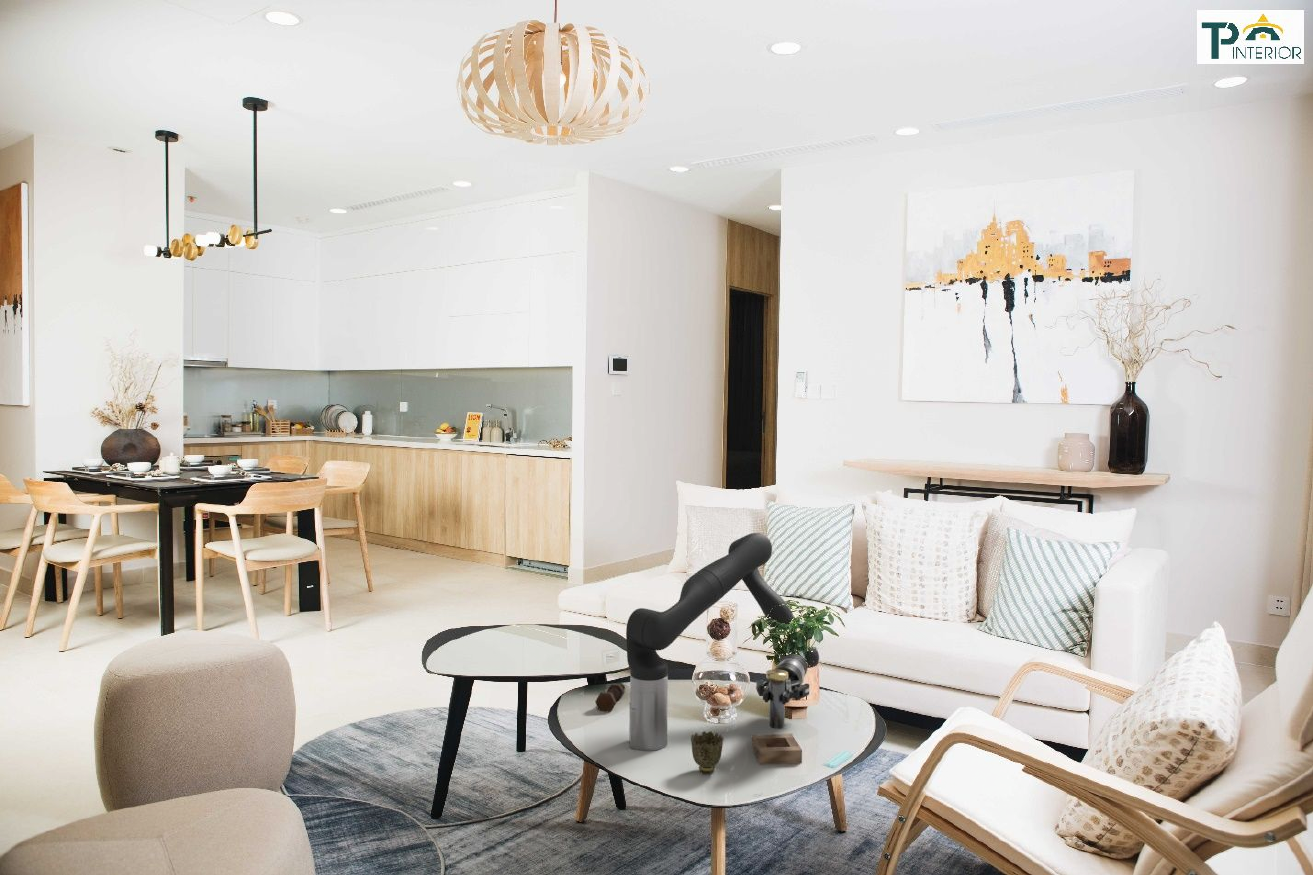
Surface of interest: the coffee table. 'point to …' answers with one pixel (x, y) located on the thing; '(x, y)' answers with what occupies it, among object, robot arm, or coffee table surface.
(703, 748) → the cup
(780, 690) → the pin
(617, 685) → the brown hex dumbbell
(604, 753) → the coffee table surface
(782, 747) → the socket block
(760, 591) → the robot arm
